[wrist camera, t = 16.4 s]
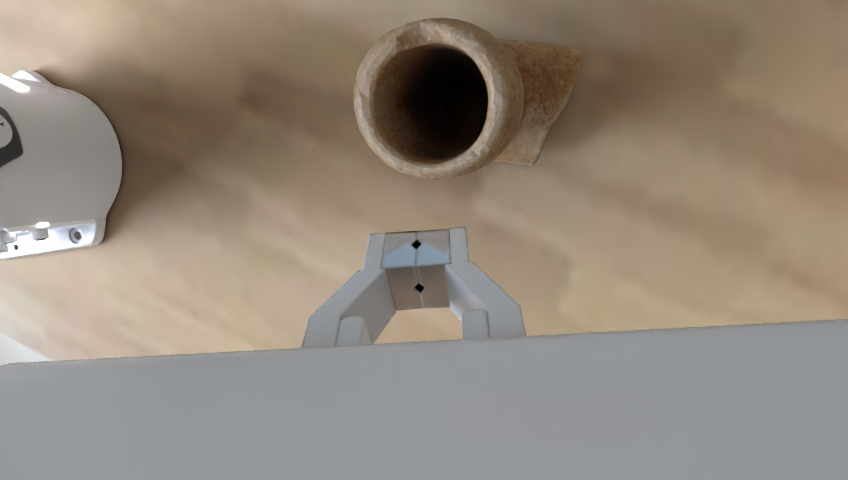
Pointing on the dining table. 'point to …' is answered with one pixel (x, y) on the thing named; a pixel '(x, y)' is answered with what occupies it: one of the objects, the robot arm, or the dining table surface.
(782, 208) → the dining table surface
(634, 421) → the robot arm
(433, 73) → the stone cup
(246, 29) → the dining table surface
